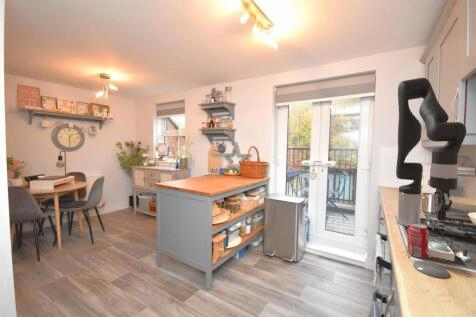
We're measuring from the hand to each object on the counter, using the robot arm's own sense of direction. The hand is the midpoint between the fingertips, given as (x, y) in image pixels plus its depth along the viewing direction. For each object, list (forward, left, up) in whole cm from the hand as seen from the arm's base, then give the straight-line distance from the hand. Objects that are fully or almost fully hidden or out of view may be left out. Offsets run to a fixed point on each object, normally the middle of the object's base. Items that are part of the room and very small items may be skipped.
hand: (441, 220), depth 81 cm
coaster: (+14, -5, -14) cm, 21 cm away
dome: (0, 0, -14) cm, 14 cm away
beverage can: (+4, -7, -14) cm, 16 cm away
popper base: (0, 0, -14) cm, 14 cm away
